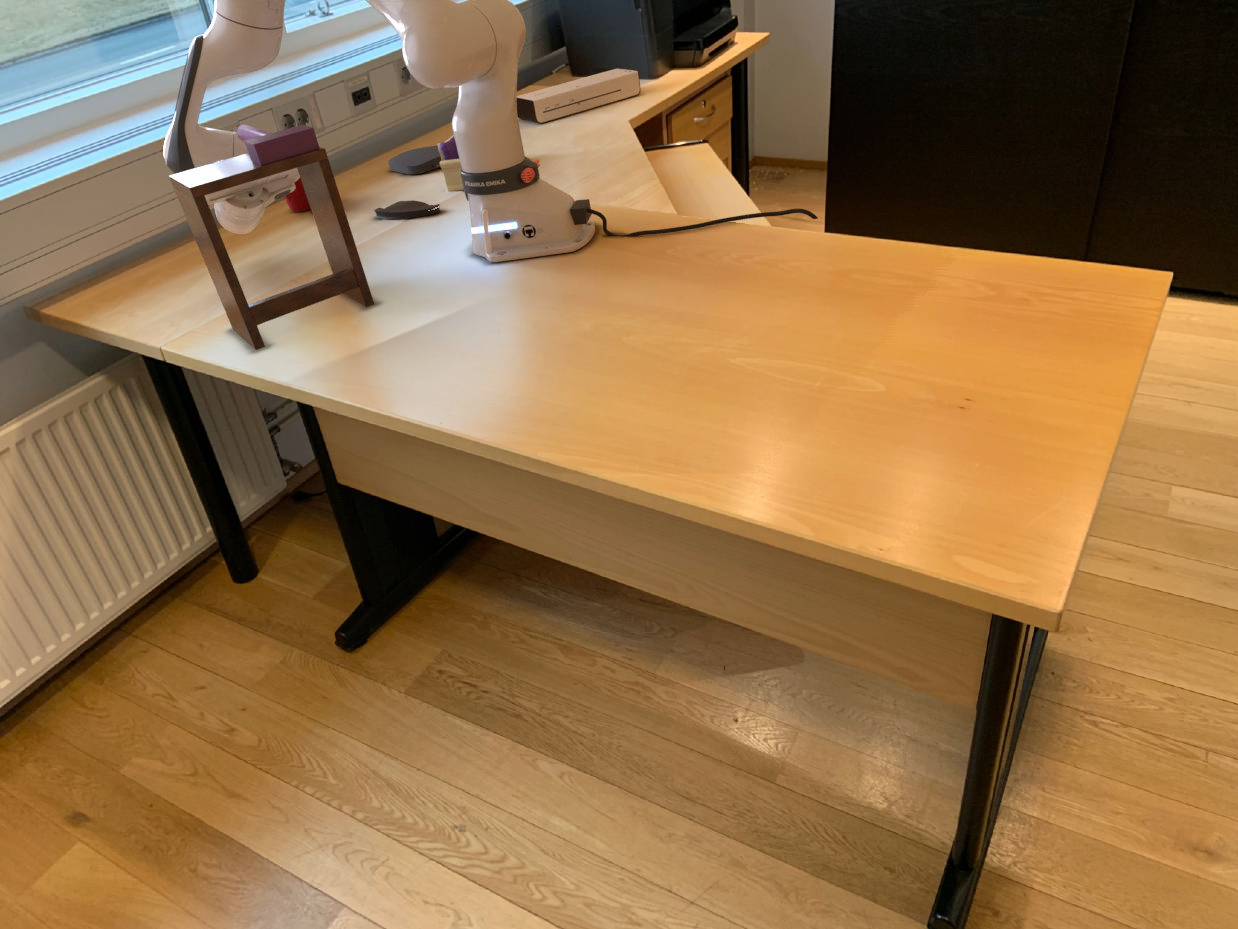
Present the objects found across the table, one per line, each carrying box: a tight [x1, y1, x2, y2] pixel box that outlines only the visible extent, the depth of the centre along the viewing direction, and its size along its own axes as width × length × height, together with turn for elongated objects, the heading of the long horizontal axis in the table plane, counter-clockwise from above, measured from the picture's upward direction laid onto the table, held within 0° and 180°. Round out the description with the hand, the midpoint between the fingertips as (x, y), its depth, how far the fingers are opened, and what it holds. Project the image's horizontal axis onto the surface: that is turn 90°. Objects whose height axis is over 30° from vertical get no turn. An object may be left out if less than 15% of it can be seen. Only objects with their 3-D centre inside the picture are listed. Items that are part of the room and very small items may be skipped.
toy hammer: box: [236, 124, 321, 166], centre depth 136 cm, size 20×9×3 cm, turn 37°
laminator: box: [517, 67, 641, 125], centre depth 246 cm, size 34×12×6 cm, turn 124°
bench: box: [168, 146, 375, 351], centre depth 138 cm, size 20×12×25 cm, turn 127°
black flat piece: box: [373, 199, 441, 220], centre depth 184 cm, size 8×14×2 cm, turn 57°
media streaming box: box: [387, 145, 442, 175], centre depth 217 cm, size 15×15×3 cm
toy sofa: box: [436, 134, 464, 192], centre depth 199 cm, size 21×9×10 cm, turn 169°
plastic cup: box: [282, 178, 311, 213], centre depth 197 cm, size 11×11×12 cm
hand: (248, 157), depth 148 cm, fingers open, 8 cm apart
